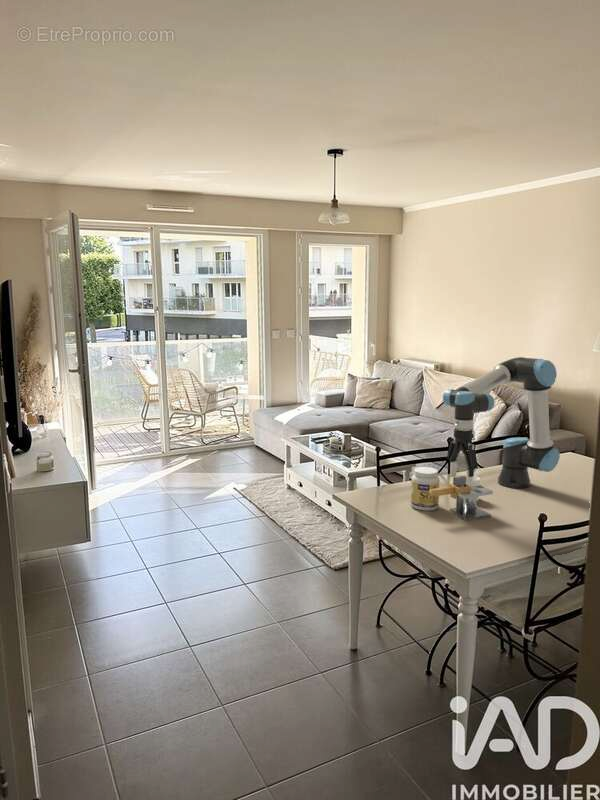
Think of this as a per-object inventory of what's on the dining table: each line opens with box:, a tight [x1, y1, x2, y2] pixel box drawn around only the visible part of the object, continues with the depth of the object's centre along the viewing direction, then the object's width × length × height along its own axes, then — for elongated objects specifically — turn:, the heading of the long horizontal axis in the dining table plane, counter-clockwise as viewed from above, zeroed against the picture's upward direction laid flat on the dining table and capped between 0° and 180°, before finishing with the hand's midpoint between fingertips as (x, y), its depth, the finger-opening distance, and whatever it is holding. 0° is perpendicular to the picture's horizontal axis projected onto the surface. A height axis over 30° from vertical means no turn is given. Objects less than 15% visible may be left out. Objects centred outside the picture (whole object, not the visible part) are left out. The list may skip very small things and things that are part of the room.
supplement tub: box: [410, 466, 440, 512], centre depth 261 cm, size 12×12×17 cm
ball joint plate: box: [445, 482, 494, 522], centre depth 253 cm, size 15×12×12 cm
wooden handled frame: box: [429, 483, 471, 500], centre depth 248 cm, size 17×6×5 cm, turn 112°
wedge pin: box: [452, 475, 466, 515], centre depth 250 cm, size 6×3×16 cm, turn 112°
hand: (461, 480), depth 249 cm, fingers open, 10 cm apart
